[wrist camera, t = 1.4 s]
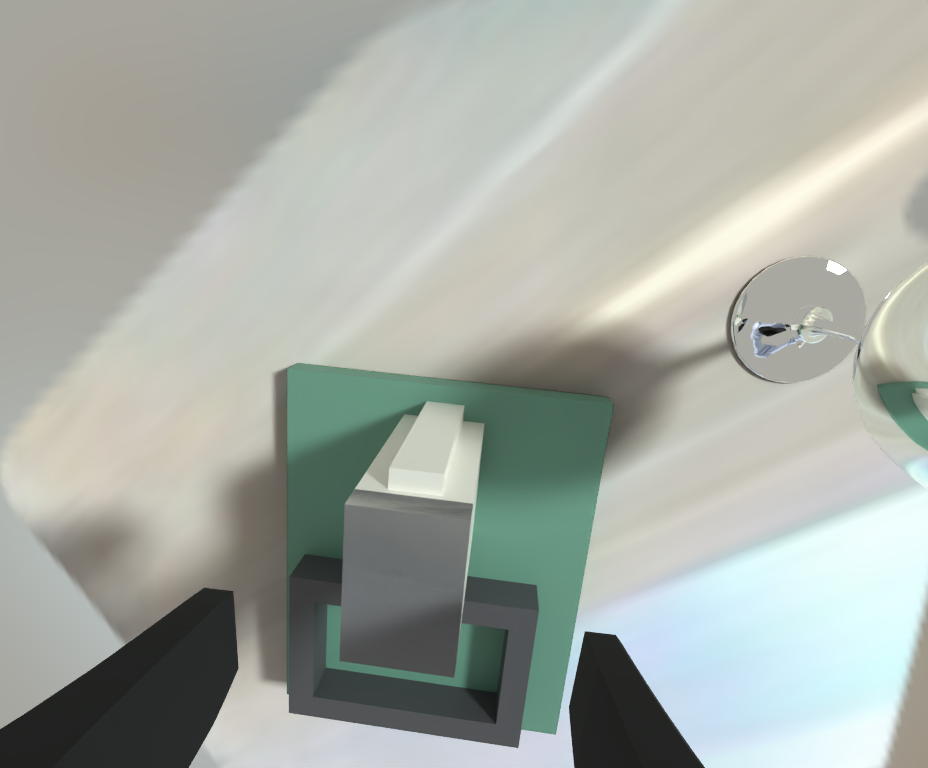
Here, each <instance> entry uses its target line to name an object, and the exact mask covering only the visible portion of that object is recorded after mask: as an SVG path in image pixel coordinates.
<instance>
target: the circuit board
mask: <svg viewBox="0 0 928 768" xmlns="http://www.w3.org/2000/svg"><path fill="white" fill-rule="evenodd" d="M427 401H430V402H438V403H447V404H456V405H465V406H464V417H463V421H468V422H477V423H485V424H484V434H483V443H482V452H481V462H480V471H479V480H478V490H477V499H476V508H475V518H474V527H473V536H472V543H471V551H470V559H469V567H468V575H467V582H466V590H465V598H464V606H463V614H462V621H461V629H460V637H459V645H458V653H457V660H456V668H455V676H454V678H452V677H445V676H438V675H431V674H424V673H418V672H411V671H404V670H397V669H390V668H383V667H377V666H370V665H363V664H356V663H349V662H343V661H339V659H340V629H341V599H342V569H343V539H344V509H345V503H346V501H347V500H348V498H349V497H350V495H351V494H352V492H353V491H354V489H355V488H356V486H357V485H358V483H359V482H360V480H361V479H362V477H363V476H364V474H365V473H366V471H367V470H368V468H369V467H370V465H371V464H372V462H373V461H374V459H375V458H376V456H377V455H378V453H379V452H380V450H381V449H382V447H383V446H384V444H385V443H386V441H387V440H388V438H389V437H390V435H391V434H392V432H393V431H394V429H395V428H396V426H397V425H398V423H399V422H400V420H401V419H402V417H403V416H404V414H407V415H416V416H419V414H420V412H421V411H422V409H423V407H424V405H425V404H426V402H427ZM612 411H613V403H612V402H611V400H610V399H609V398H608V397H602V396H593V395H584V394H575V393H566V392H557V391H548V390H538V389H529V388H520V387H511V386H502V385H493V384H484V383H475V382H466V381H457V380H447V379H438V378H429V377H420V376H411V375H402V374H393V373H384V372H375V371H365V370H356V369H347V368H338V367H329V366H320V365H311V364H302V363H298V364H296V365H293V366H291V367H289V368H287V694H289V713H294V714H301V715H307V716H314V717H320V718H327V719H333V720H340V721H346V722H353V723H359V724H366V725H372V726H379V727H385V728H392V729H398V730H405V731H411V732H418V733H424V734H431V735H437V736H444V737H450V738H457V739H463V740H470V741H476V742H483V743H489V744H496V745H502V746H509V747H515V748H518V746H519V739H520V733H521V729H522V730H529V731H536V732H542V733H549V734H555V735H556V730H557V725H558V719H559V713H560V708H561V702H562V696H563V690H564V685H565V679H566V673H567V668H568V662H569V656H570V651H571V645H572V639H573V633H574V628H575V622H576V616H577V611H578V605H579V599H580V593H581V588H582V582H583V576H584V571H585V565H586V559H587V553H588V548H589V542H590V536H591V531H592V525H593V519H594V514H595V508H596V502H597V496H598V491H599V485H600V479H601V474H602V468H603V462H604V456H605V451H606V445H607V439H608V434H609V428H610V422H611V416H612Z"/></svg>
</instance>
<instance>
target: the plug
mask: <svg viewBox="0 0 928 768" xmlns="http://www.w3.org/2000/svg"><path fill="white" fill-rule="evenodd" d="M464 406H465V405H456V404H447V403H438V402H430V401H427V402H426V404H425V405H424V407H423V409H422V411H421V412H420V414H419V416H416V415H407V414H404V416H403V417H402V419H401V420H400V422H399V423H398V425H397V426H396V428H395V429H394V431H393V432H392V434H391V435H390V437H389V438H388V440H387V441H386V443H385V444H384V446H383V447H382V449H381V450H380V452H379V453H378V455H377V456H376V458H375V459H374V461H373V462H372V464H371V465H370V467H369V468H368V470H367V471H366V473H365V474H364V476H363V477H362V479H361V480H360V482H359V483H358V485H357V486H356V488H355V489H354V491H353V492H352V494H351V495H350V497H349V498H348V500H347V501H346V503H345V509H344V539H343V569H342V599H341V629H340V659H339V661H343V662H349V663H356V664H363V665H370V666H377V667H383V668H390V669H397V670H404V671H411V672H418V673H424V674H431V675H438V676H445V677H452V678H454V676H455V668H456V660H457V653H458V645H459V637H460V629H461V621H462V614H463V606H464V598H465V590H466V582H467V575H468V567H469V559H470V551H471V543H472V536H473V527H474V518H475V508H476V499H477V490H478V480H479V471H480V462H481V452H482V443H483V434H484V424H485V423H477V422H468V421H463V417H464Z"/></svg>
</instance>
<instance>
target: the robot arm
mask: <svg viewBox="0 0 928 768" xmlns="http://www.w3.org/2000/svg"><path fill="white" fill-rule="evenodd" d="M237 670H238V655H237V640H236V626H235V611H234V596H233V591H227V590H218V589H210V588H203V589H202V590H200V591H199V592H198V593H196V594H195V595H193V596H192V597H191V598H189V599H188V600H186V601H185V602H184V603H182V604H181V605H180V606H178V607H177V608H176V609H174V610H173V611H171V612H170V613H169V614H167V615H166V616H165V617H163V618H162V619H161V620H159V621H158V622H157V623H155V624H154V625H152V626H151V627H150V628H148V629H147V630H146V631H144V632H143V633H141V634H140V635H139V636H137V637H136V638H135V639H133V640H132V641H130V642H129V643H128V644H126V645H125V646H123V647H122V648H121V649H119V650H118V651H117V652H115V653H114V654H112V655H111V656H110V657H108V658H107V659H105V660H104V661H103V662H101V663H100V664H98V665H97V666H96V667H94V668H93V669H91V670H90V671H88V672H87V673H85V674H84V675H82V676H81V677H79V678H78V679H76V680H75V681H73V682H72V683H70V684H69V685H67V686H66V687H64V688H63V689H61V690H60V691H58V692H57V693H55V694H54V695H52V696H51V697H49V698H48V699H46V700H45V701H43V702H42V703H40V704H39V705H37V706H36V707H34V708H33V709H32V710H30V711H28V712H27V713H25V714H24V715H22V716H21V717H19V718H17V719H16V720H14V721H13V722H11V723H10V724H8V725H6V726H5V727H3V728H2V729H0V768H189V766H190V764H191V762H192V761H193V759H194V757H195V755H196V754H197V752H198V750H199V749H200V747H201V745H202V743H203V742H204V740H205V738H206V736H207V735H208V733H209V731H210V729H211V727H212V726H213V724H214V722H215V720H216V718H217V715H218V713H219V711H220V709H221V707H222V705H223V702H224V700H225V698H226V696H227V693H228V691H229V689H230V687H231V684H232V682H233V680H234V677H235V675H236V673H237ZM569 713H570V725H571V736H572V747H573V757H574V767H575V768H705V767H704V766H703V764H702V763H701V762H700V760H699V759H698V758H697V756H696V755H695V753H694V752H693V751H692V749H691V748H690V746H689V745H688V743H687V742H686V741H685V739H684V738H683V736H682V735H681V733H680V732H679V731H678V729H677V728H676V726H675V725H674V723H673V722H672V721H671V719H670V718H669V716H668V715H667V713H666V712H665V710H664V709H663V707H662V706H661V704H660V703H659V701H658V700H657V698H656V697H655V695H654V694H653V692H652V691H651V689H650V688H649V686H648V684H647V683H646V681H645V680H644V678H643V677H642V675H641V674H640V672H639V670H638V669H637V667H636V666H635V664H634V662H633V661H632V659H631V658H630V656H629V655H628V653H627V651H626V650H625V648H624V646H623V645H622V643H621V642H620V640H619V639H618V638H617V636H616V635H611V634H603V633H594V632H585V634H584V638H583V643H582V648H581V653H580V657H579V662H578V667H577V672H576V677H575V681H574V686H573V691H572V696H571V700H570V705H569Z"/></svg>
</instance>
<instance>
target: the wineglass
mask: <svg viewBox="0 0 928 768" xmlns="http://www.w3.org/2000/svg"><path fill="white" fill-rule="evenodd" d="M866 314H867V307H866V299H865V295H864V292H863V289H862V287H861V285H860V283H859V282H858V280H857V279H856V278H855V276H854V275H853V274H852V273H851V272H850V271H849V270H848V269H846V268H845V267H844V266H842V265H841V264H839V263H837V262H835V261H832V260H830V259H826V258H823V257H818V256H798V257H792V258H788V259H785V260H782V261H780V262H778V263H775V264H773V265H771V266H769V267H767V268H766V269H765V270H763V271H762V272H761V273H759V274H758V275H757V276H756V277H754V278H753V279H752V280H751V281H750V283H749V284H748V285H747V286H746V287H745V289H744V290H743V291H742V293H741V295H740V296H739V298H738V300H737V302H736V304H735V307H734V310H733V314H732V318H731V338H732V343H733V347H734V349H735V351H736V353H737V355H738V357H739V359H740V360H741V361H742V362H743V364H744V365H745V366H746V367H747V368H748V369H750V370H751V371H752V372H753V373H755V374H756V375H758V376H760V377H762V378H765V379H767V380H771V381H774V382H781V383H797V382H804V381H808V380H812V379H815V378H817V377H820V376H822V375H824V374H826V373H828V372H829V371H831V370H833V369H834V368H835V367H837V366H838V365H839V364H841V363H842V362H843V361H844V360H845V359H846V358H847V357H848V356H849V354H850V353H851V352H852V351H853V349H854V348H855V346H856V345H858V347H857V350H856V353H855V356H854V364H853V376H852V384H853V392H854V399H855V402H856V405H857V409H858V412H859V415H860V418H861V420H862V422H863V425H864V427H865V428H866V430H867V432H868V433H869V435H870V437H871V438H872V439H873V440H874V442H875V443H876V444H877V445H878V447H879V448H880V449H881V450H882V451H883V453H884V454H885V455H886V456H887V457H888V458H889V459H891V460H892V461H893V462H894V463H895V464H896V465H897V466H899V467H900V468H901V469H902V470H903V471H904V472H905V473H907V474H908V475H909V476H910V477H912V478H913V479H914V480H916V481H917V482H919V483H920V484H921V485H923V486H924V487H925V488H927V489H928V262H926V263H925V264H923V265H922V266H920V267H919V268H918V269H917V270H915V271H914V272H913V273H911V274H910V275H909V276H908V277H906V278H905V279H904V280H902V281H901V282H900V283H899V284H898V285H897V286H896V287H895V288H894V289H893V290H892V291H891V292H890V293H889V294H888V296H887V297H886V298H885V299H884V300H883V301H882V302H881V303H880V304H879V305H878V307H877V309H876V310H875V312H874V314H873V315H872V317H871V318H870V320H869V322H868V323H867V325H866V326H865V322H866Z"/></svg>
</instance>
